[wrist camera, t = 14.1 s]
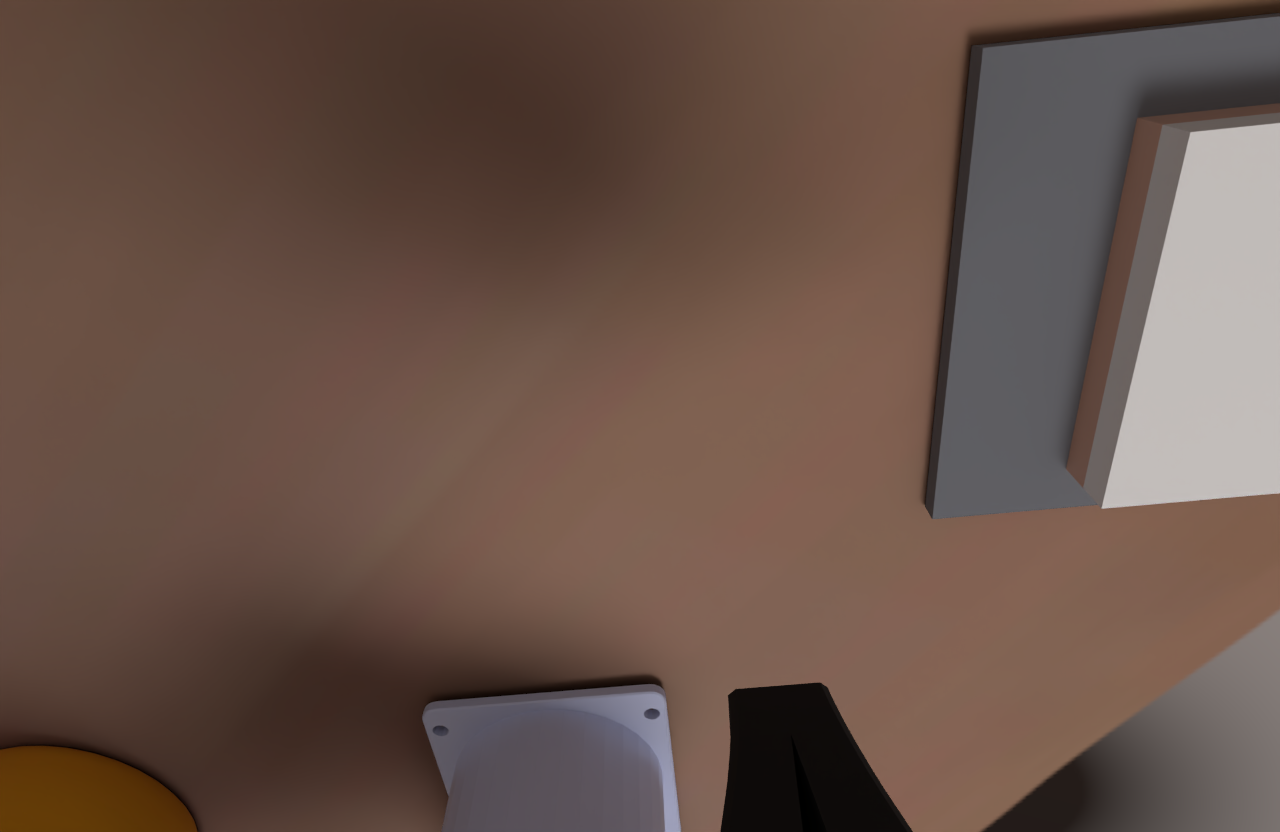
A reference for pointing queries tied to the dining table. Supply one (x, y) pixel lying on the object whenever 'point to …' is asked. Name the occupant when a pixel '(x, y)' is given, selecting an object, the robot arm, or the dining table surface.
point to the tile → (1188, 318)
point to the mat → (1054, 237)
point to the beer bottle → (82, 794)
